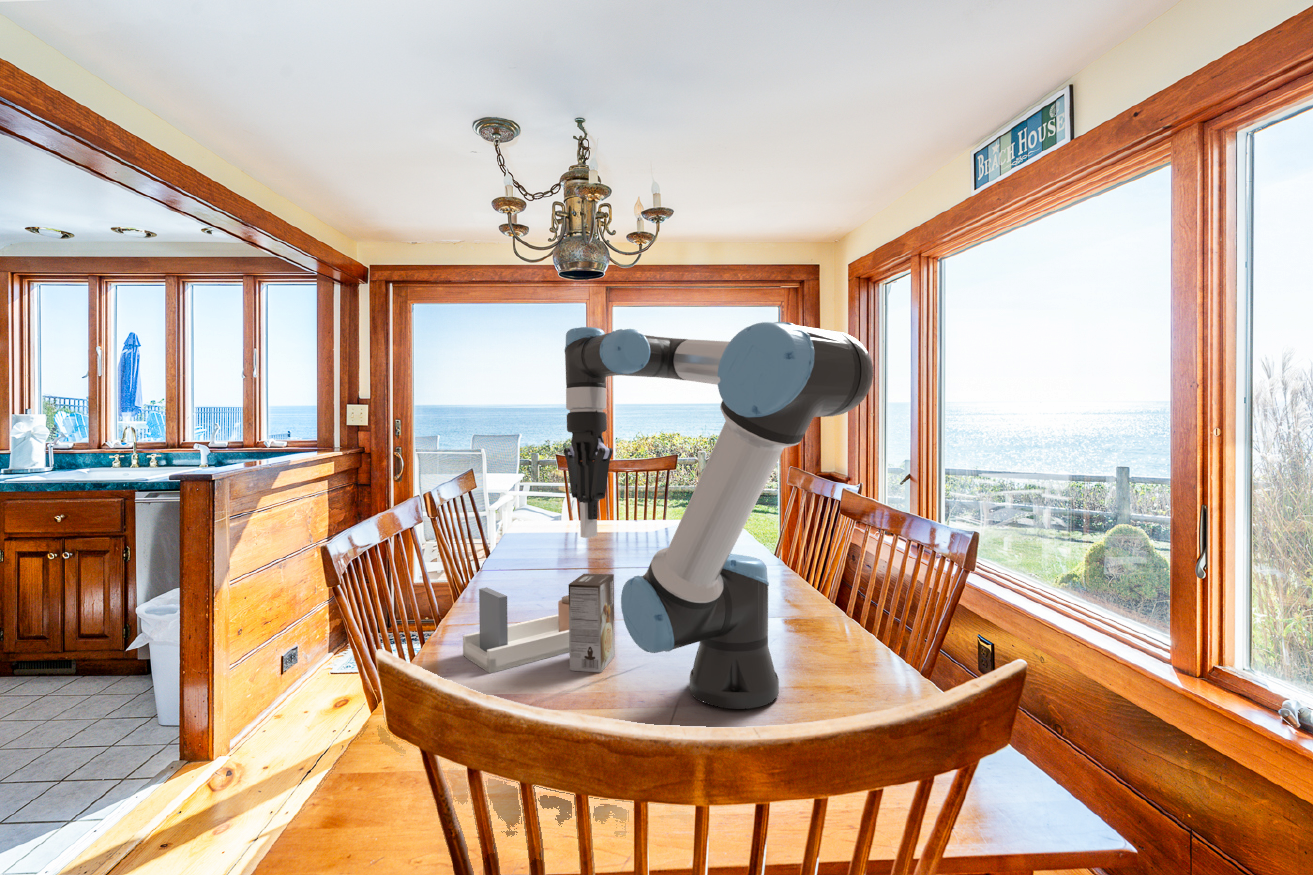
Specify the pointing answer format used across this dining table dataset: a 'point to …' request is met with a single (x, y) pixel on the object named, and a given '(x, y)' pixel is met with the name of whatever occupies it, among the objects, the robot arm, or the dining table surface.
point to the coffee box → (591, 622)
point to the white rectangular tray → (519, 645)
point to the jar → (563, 614)
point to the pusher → (492, 619)
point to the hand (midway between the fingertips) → (589, 536)
